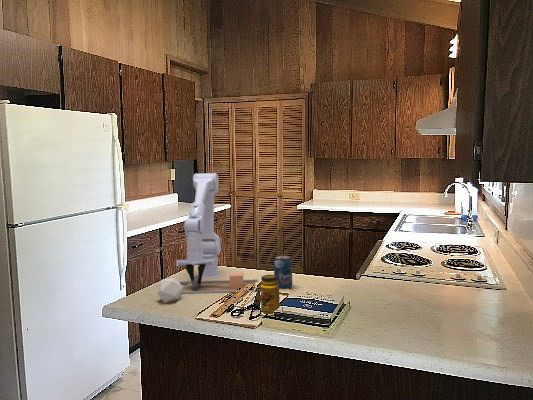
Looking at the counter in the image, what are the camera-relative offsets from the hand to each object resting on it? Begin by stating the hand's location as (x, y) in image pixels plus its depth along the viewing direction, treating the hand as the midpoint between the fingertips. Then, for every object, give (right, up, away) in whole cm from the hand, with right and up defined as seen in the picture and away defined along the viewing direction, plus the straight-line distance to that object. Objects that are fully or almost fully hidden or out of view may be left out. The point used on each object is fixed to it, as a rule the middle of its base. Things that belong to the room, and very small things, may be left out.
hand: (196, 283), depth 172 cm
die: (-7, -4, -13) cm, 15 cm away
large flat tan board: (+11, -2, 0) cm, 11 cm away
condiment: (+29, -4, -27) cm, 39 cm away
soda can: (+34, -2, -1) cm, 34 cm away
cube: (+16, -1, 0) cm, 16 cm away
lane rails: (+6, -2, 0) cm, 6 cm away
